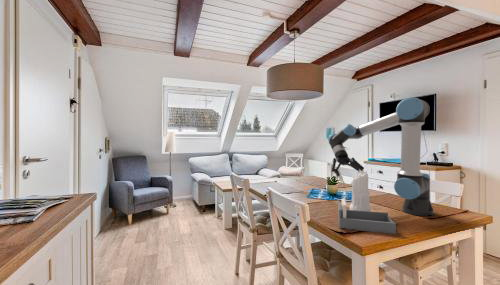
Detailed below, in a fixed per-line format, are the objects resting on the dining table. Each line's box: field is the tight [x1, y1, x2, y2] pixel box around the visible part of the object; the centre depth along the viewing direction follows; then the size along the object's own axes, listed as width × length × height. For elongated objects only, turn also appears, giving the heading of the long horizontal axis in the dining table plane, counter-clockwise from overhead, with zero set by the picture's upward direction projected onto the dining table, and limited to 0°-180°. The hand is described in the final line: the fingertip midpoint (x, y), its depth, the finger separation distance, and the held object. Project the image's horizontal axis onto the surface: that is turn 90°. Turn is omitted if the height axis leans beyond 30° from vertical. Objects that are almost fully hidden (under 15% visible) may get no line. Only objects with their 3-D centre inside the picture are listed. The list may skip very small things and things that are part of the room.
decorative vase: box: [349, 169, 372, 212], centre depth 133 cm, size 11×11×25 cm
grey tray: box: [337, 201, 397, 235], centre depth 117 cm, size 24×16×9 cm, turn 71°
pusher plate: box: [341, 198, 347, 218], centre depth 120 cm, size 2×13×10 cm, turn 161°
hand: (352, 179), depth 139 cm, fingers open, 13 cm apart
